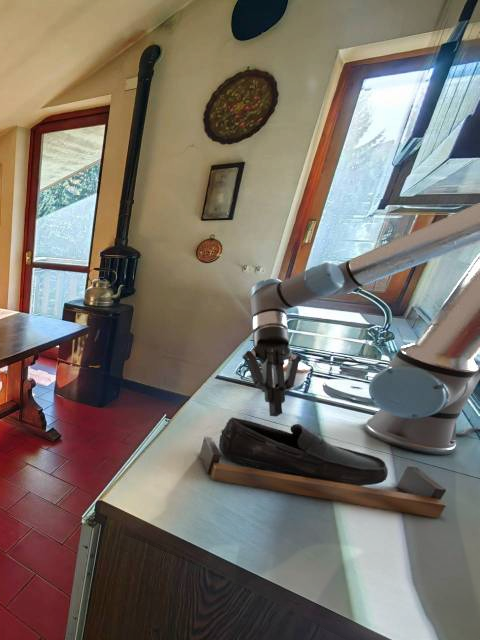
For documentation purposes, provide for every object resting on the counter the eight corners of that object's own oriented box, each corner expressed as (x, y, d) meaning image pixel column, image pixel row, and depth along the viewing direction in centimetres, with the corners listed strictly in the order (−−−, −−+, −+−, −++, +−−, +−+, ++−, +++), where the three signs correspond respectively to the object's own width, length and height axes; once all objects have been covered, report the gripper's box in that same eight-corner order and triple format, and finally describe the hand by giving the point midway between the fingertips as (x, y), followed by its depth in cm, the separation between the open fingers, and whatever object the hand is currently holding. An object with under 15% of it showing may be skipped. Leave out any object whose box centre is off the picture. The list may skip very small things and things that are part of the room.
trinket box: (254, 380, 133) (262, 354, 129) (282, 379, 134) (291, 353, 130) (280, 393, 123) (290, 365, 119) (311, 392, 124) (321, 364, 121)
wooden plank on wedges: (405, 487, 79) (416, 467, 78) (441, 518, 71) (455, 496, 69) (199, 455, 90) (204, 436, 88) (209, 479, 81) (215, 459, 79)
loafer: (391, 499, 76) (415, 455, 72) (222, 468, 85) (235, 427, 81) (362, 470, 85) (382, 429, 81) (212, 445, 94) (223, 407, 90)
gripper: (290, 341, 106) (298, 422, 98) (236, 337, 110) (239, 415, 101) (306, 327, 100) (316, 413, 91) (248, 323, 103) (252, 405, 95)
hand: (275, 414), depth 96 cm, fingers closed
